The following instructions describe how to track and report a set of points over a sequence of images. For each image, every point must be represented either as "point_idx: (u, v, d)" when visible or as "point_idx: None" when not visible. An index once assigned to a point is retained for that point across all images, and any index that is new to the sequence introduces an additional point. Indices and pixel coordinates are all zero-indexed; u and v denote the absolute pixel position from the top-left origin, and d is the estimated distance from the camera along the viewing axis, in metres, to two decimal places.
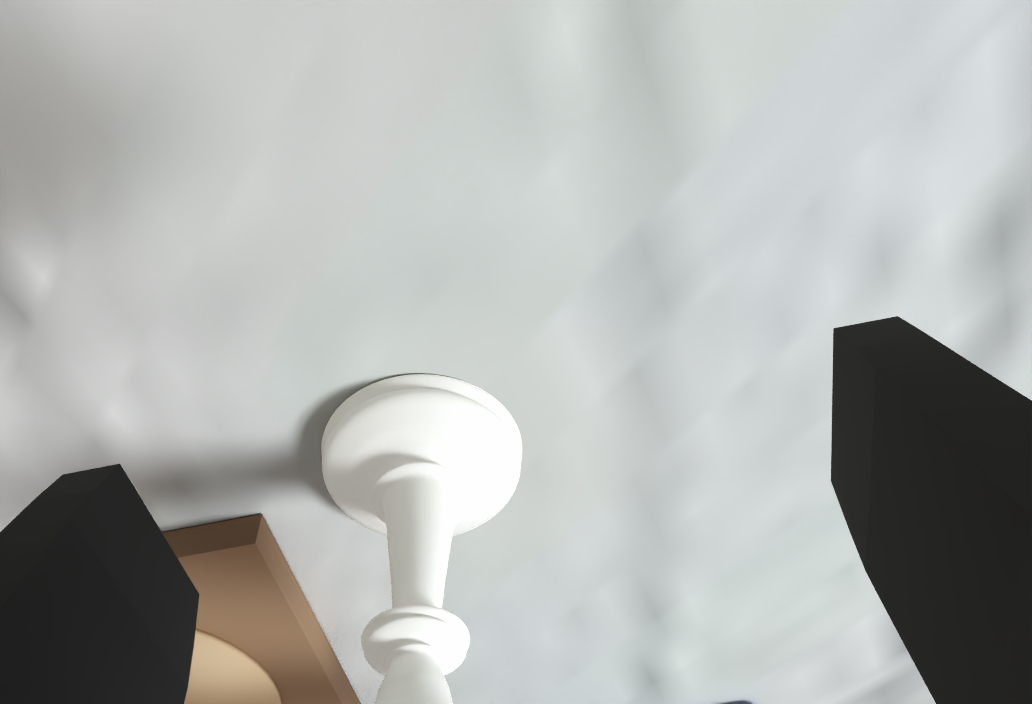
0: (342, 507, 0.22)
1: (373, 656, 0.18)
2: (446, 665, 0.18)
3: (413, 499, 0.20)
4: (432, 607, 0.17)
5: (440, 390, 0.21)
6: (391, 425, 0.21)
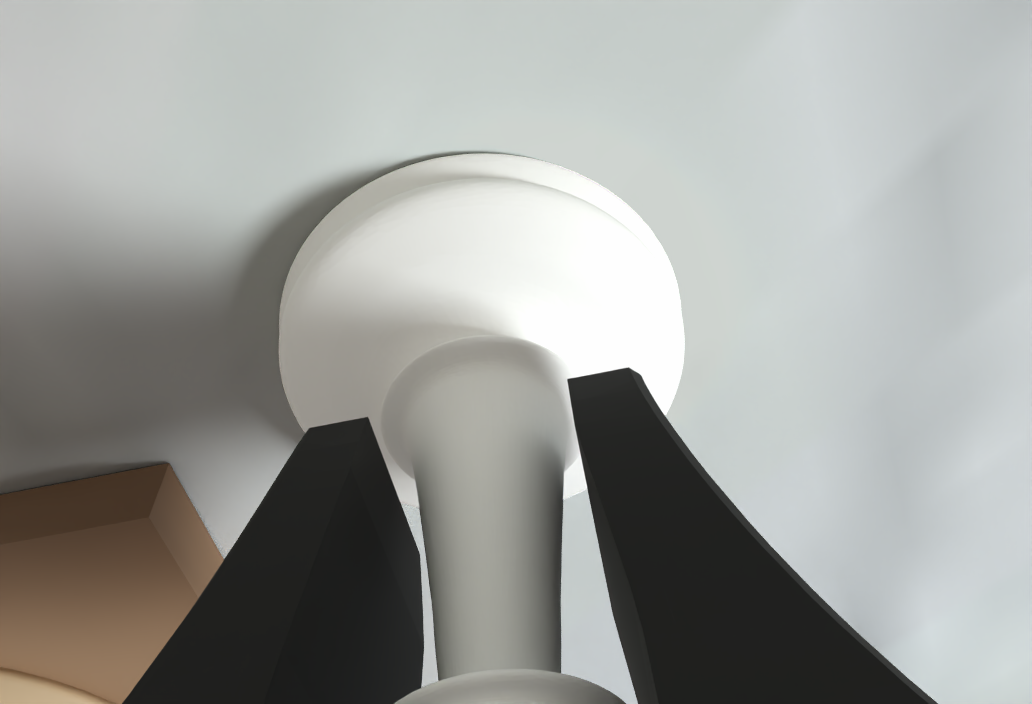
0: None
1: None
2: None
3: (477, 414, 0.09)
4: (558, 675, 0.06)
5: (533, 183, 0.10)
6: (427, 254, 0.09)
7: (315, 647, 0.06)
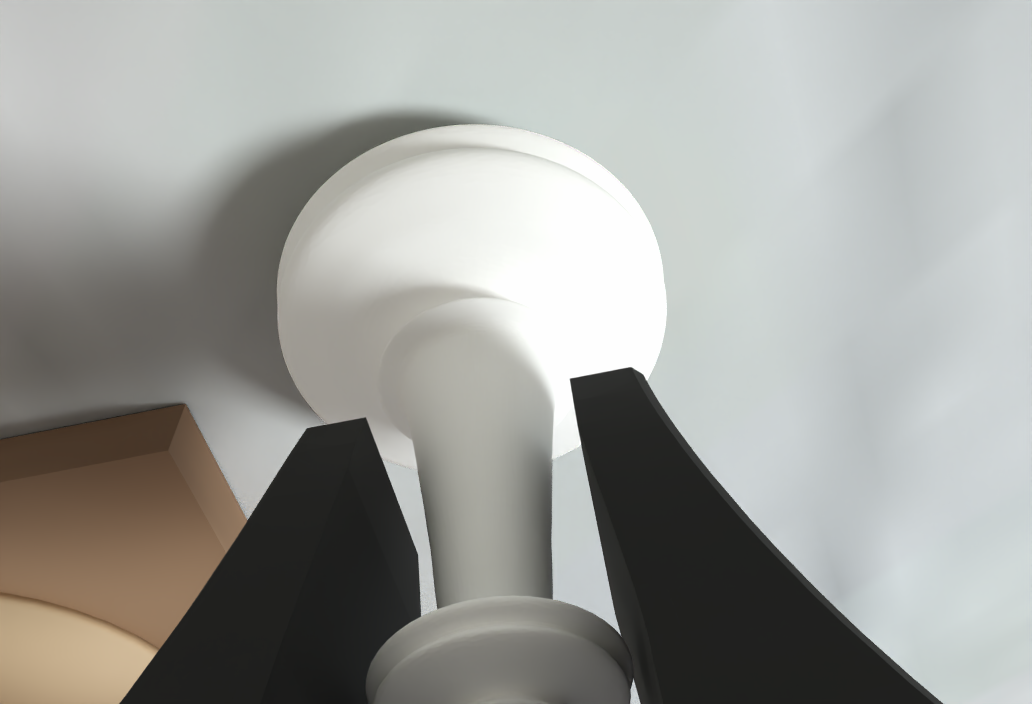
0: (325, 416, 0.12)
1: None
2: None
3: (466, 372, 0.09)
4: (543, 599, 0.07)
5: (509, 150, 0.10)
6: (411, 225, 0.10)
7: (312, 646, 0.07)
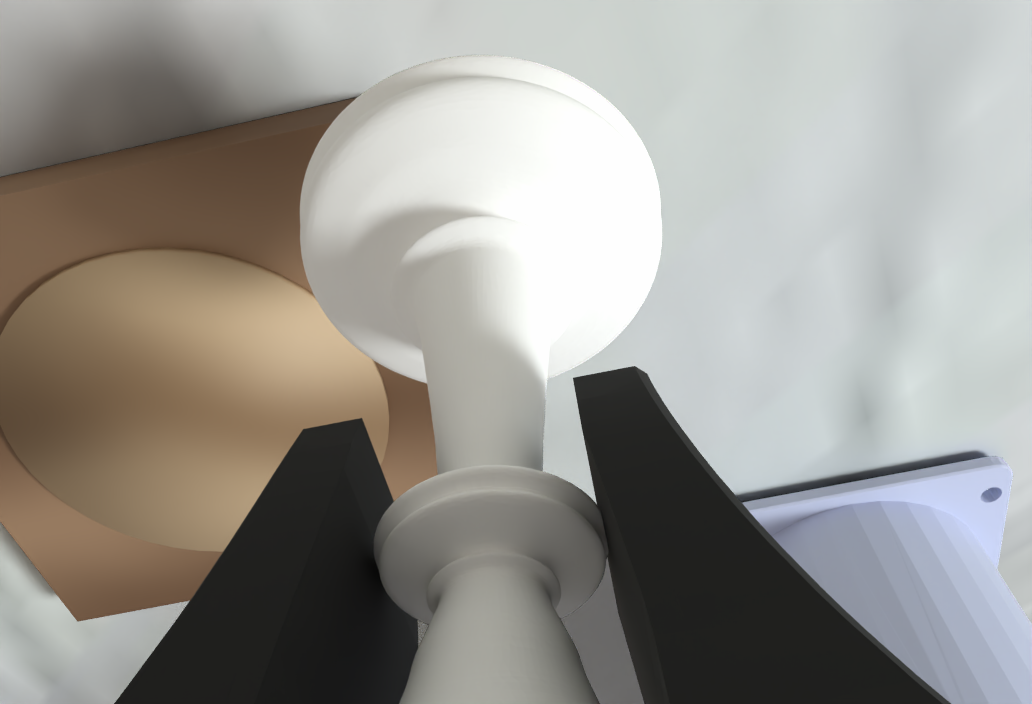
0: (344, 331, 0.12)
1: (401, 586, 0.08)
2: (561, 600, 0.08)
3: (469, 283, 0.10)
4: (526, 468, 0.08)
5: (513, 78, 0.11)
6: (421, 148, 0.11)
7: (306, 648, 0.06)
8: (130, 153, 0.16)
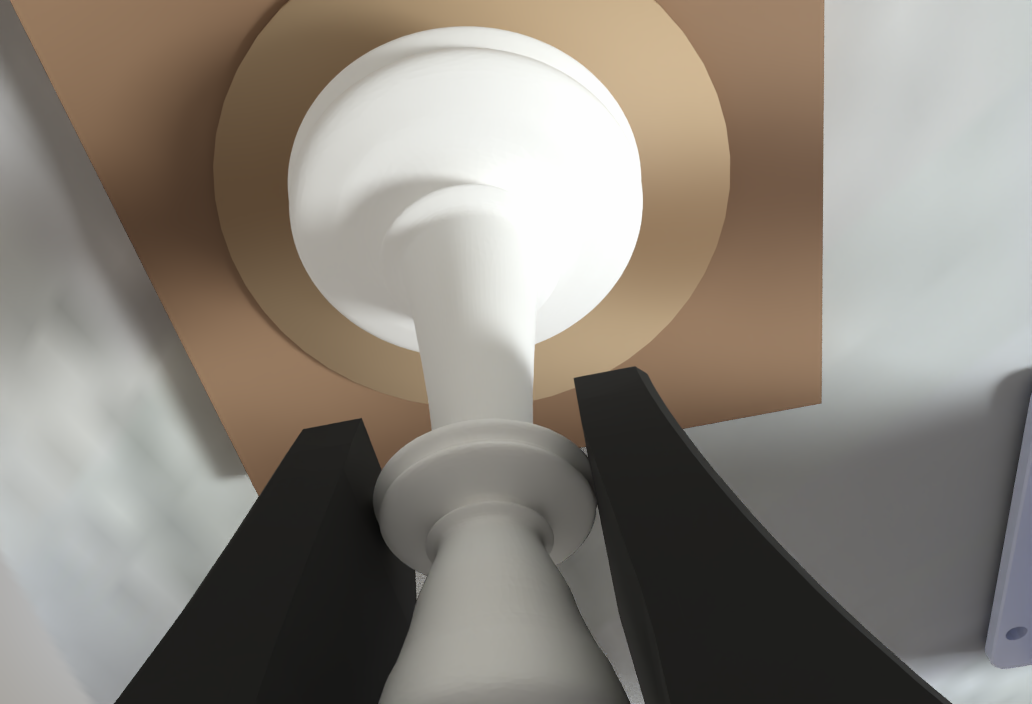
0: (333, 300, 0.13)
1: (399, 537, 0.08)
2: (552, 549, 0.09)
3: (458, 249, 0.10)
4: (520, 422, 0.08)
5: (497, 49, 0.11)
6: (409, 118, 0.11)
7: (306, 647, 0.06)
8: None
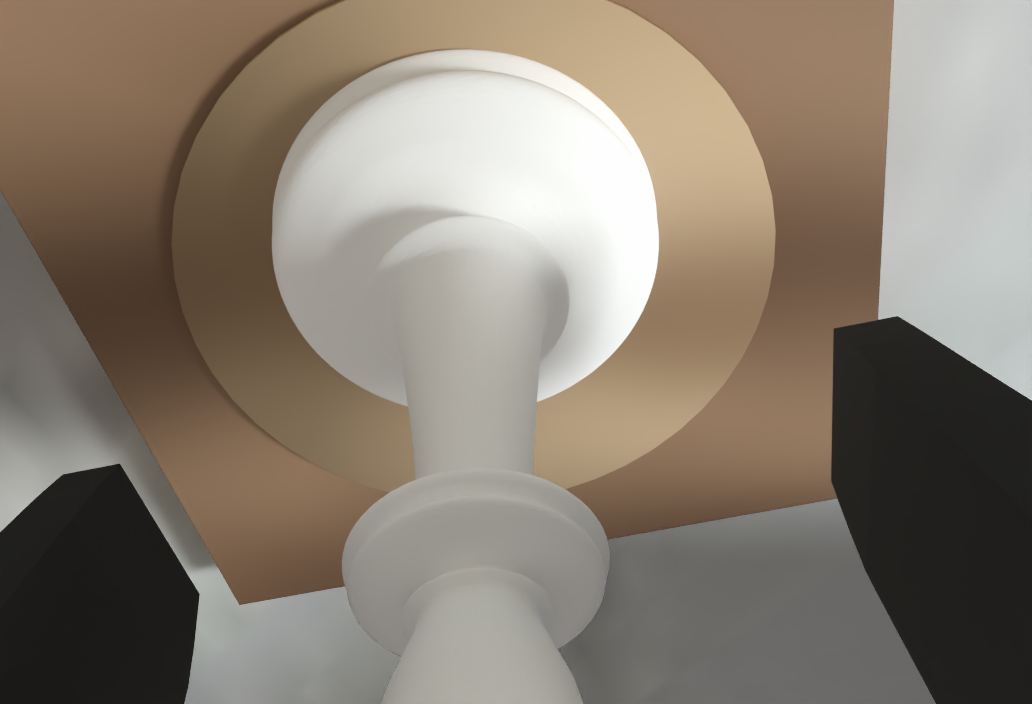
0: (321, 350, 0.12)
1: (372, 611, 0.07)
2: (556, 627, 0.07)
3: (452, 286, 0.09)
4: (514, 471, 0.07)
5: (496, 72, 0.10)
6: (399, 146, 0.10)
7: None
8: None
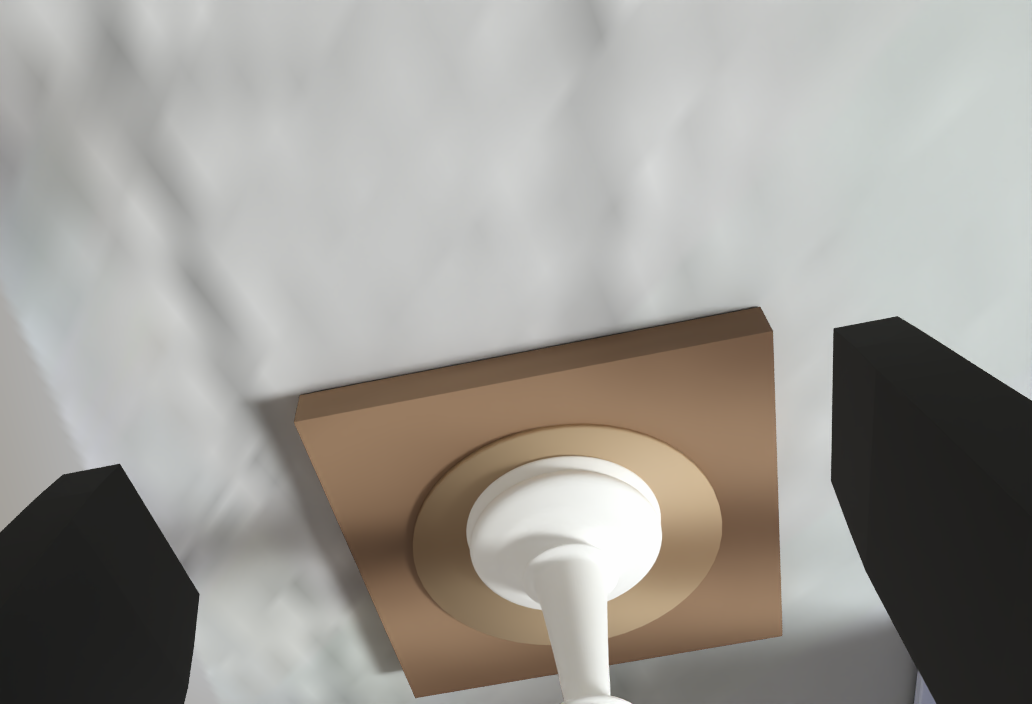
0: (489, 585, 0.23)
1: None
2: None
3: (567, 582, 0.21)
4: (608, 696, 0.18)
5: (584, 471, 0.21)
6: (539, 508, 0.21)
7: None
8: (562, 352, 0.21)
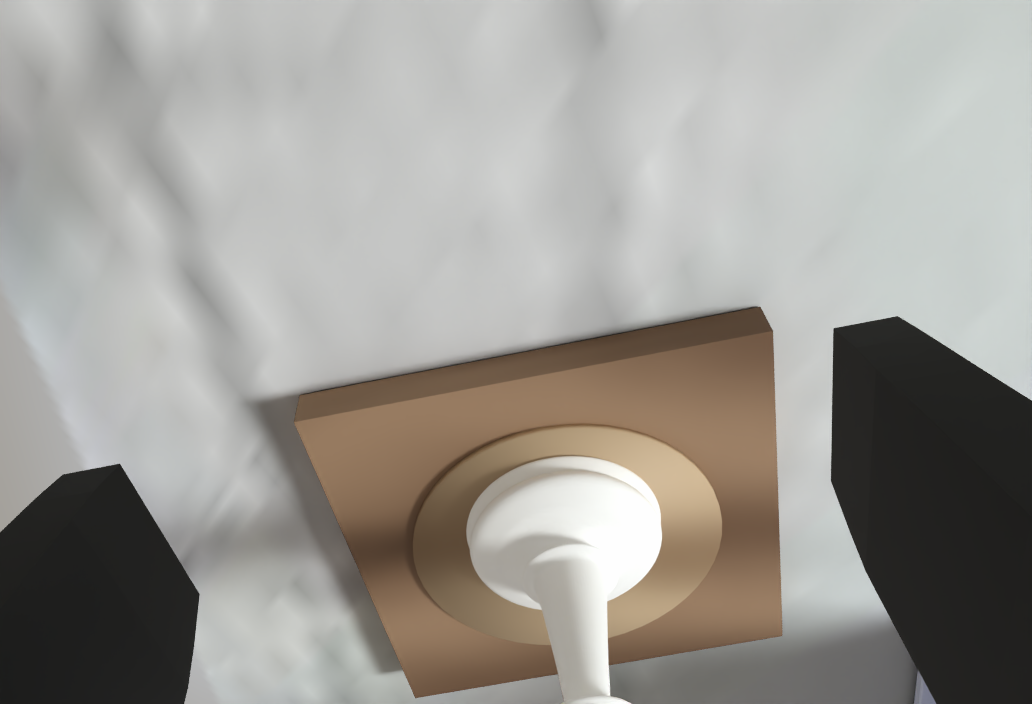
0: (489, 585, 0.23)
1: None
2: None
3: (567, 582, 0.21)
4: (608, 696, 0.18)
5: (585, 471, 0.21)
6: (539, 508, 0.21)
7: None
8: (562, 352, 0.21)
